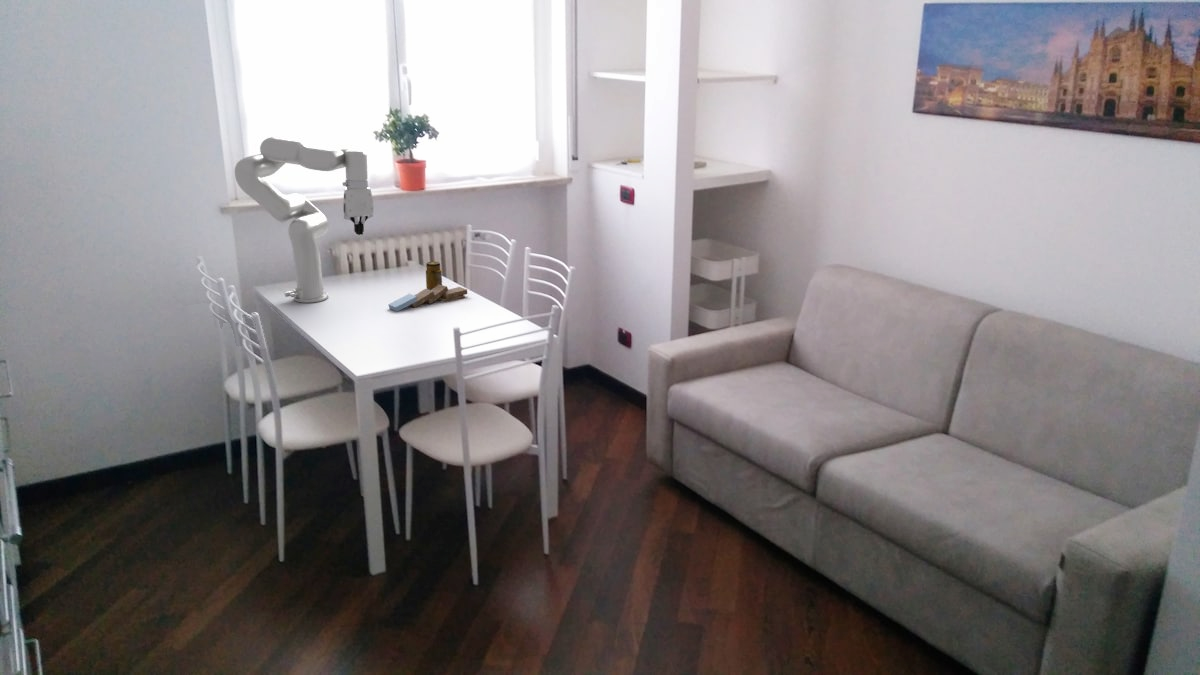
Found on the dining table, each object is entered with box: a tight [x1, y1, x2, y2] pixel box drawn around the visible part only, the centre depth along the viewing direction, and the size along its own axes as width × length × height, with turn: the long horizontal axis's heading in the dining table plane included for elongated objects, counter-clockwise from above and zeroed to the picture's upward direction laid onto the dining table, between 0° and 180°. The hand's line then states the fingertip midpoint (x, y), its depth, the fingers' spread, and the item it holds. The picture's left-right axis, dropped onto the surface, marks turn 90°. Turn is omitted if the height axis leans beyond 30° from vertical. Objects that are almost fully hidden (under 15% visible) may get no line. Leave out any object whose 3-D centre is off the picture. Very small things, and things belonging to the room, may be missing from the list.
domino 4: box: [440, 286, 468, 299], centre depth 354 cm, size 2×5×10 cm
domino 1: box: [388, 293, 418, 313], centre depth 341 cm, size 2×5×10 cm
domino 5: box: [436, 295, 466, 303], centre depth 353 cm, size 2×5×10 cm
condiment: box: [425, 261, 443, 290], centre depth 358 cm, size 7×8×12 cm
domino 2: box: [409, 288, 434, 308], centre depth 345 cm, size 2×5×10 cm
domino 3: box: [424, 284, 449, 305], centre depth 349 cm, size 2×5×10 cm
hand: (359, 233), depth 337 cm, fingers closed
